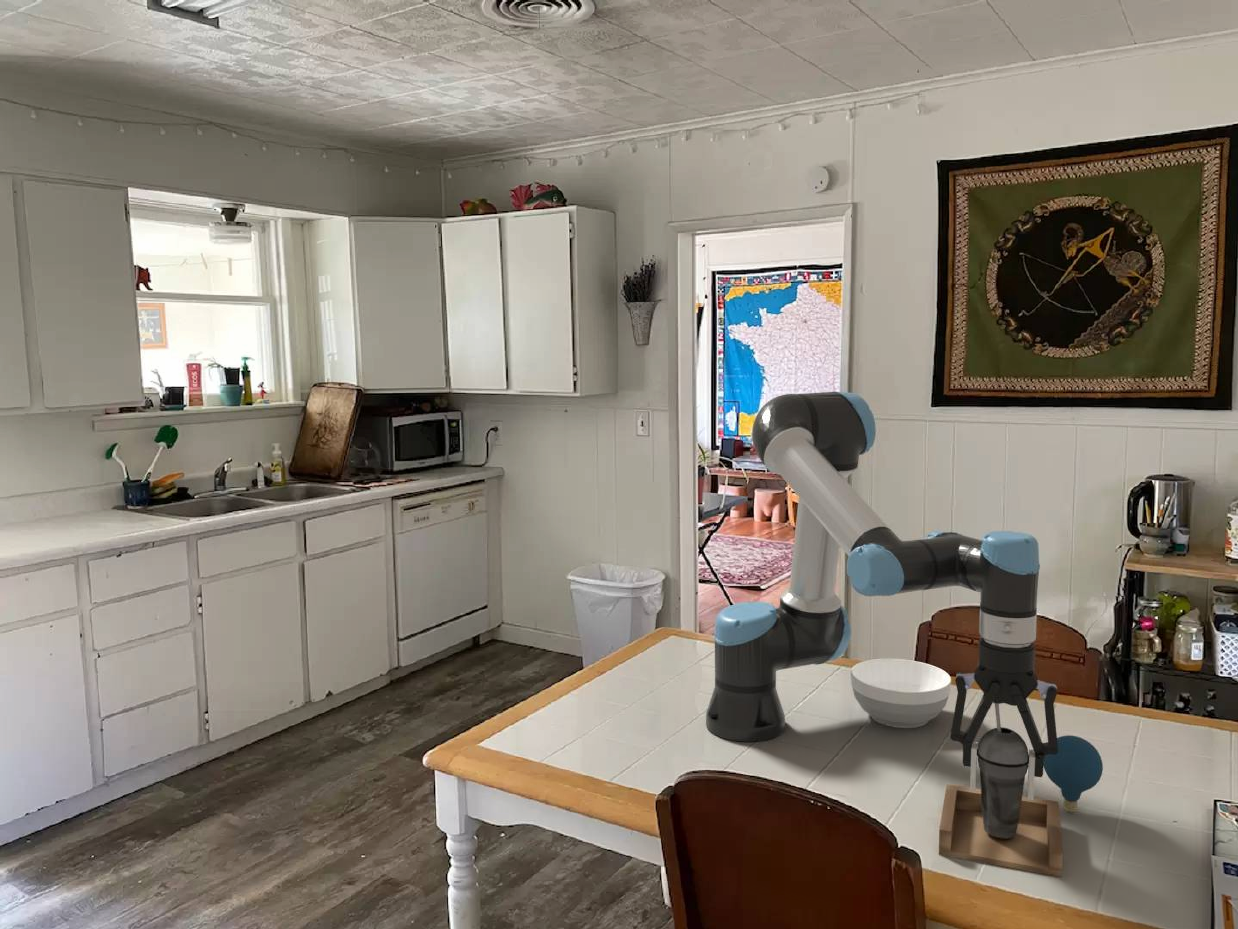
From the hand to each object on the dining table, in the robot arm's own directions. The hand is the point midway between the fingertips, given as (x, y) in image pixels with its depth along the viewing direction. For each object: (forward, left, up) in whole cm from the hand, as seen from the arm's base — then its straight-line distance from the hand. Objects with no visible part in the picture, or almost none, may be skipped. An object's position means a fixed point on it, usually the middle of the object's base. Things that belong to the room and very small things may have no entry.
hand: (1001, 791), depth 137 cm
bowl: (-19, +42, -8) cm, 47 cm away
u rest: (0, 0, -7) cm, 7 cm away
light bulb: (+10, +13, -8) cm, 18 cm away
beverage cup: (0, 0, -6) cm, 6 cm away
